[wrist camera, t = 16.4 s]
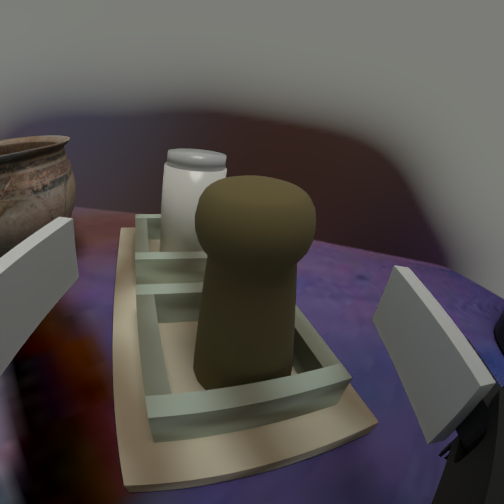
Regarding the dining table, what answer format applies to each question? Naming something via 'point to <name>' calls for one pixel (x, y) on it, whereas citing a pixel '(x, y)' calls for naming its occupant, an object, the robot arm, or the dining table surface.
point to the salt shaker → (186, 195)
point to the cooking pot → (33, 186)
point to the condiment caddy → (216, 400)
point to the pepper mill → (249, 278)
